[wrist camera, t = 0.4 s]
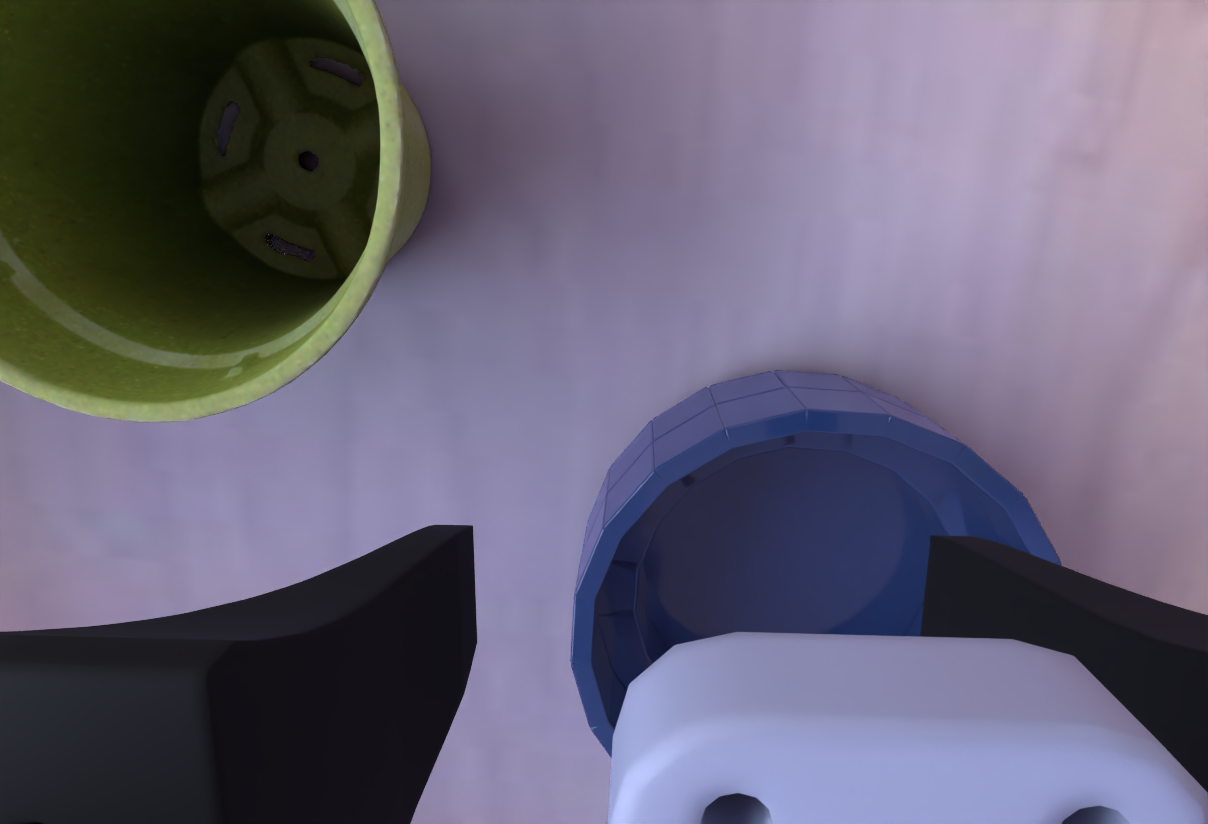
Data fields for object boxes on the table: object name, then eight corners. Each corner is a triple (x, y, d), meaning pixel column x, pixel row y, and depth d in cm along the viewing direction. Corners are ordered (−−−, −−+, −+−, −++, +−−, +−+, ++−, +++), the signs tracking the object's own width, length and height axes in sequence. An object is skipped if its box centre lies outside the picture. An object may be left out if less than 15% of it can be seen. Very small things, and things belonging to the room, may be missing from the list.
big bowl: (941, 739, 24) (1018, 873, 19) (576, 710, 24) (560, 833, 19) (1008, 381, 21) (1117, 429, 16) (597, 354, 22) (585, 393, 17)
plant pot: (546, 40, 20) (477, -90, 11) (441, 389, 22) (318, 497, 14) (183, -92, 19) (-166, -326, 11) (113, 277, 22) (-220, 316, 13)
